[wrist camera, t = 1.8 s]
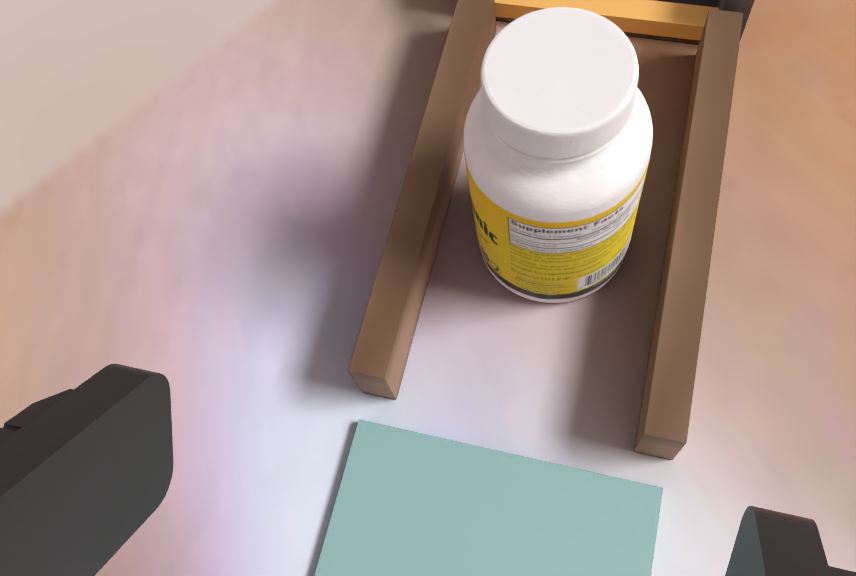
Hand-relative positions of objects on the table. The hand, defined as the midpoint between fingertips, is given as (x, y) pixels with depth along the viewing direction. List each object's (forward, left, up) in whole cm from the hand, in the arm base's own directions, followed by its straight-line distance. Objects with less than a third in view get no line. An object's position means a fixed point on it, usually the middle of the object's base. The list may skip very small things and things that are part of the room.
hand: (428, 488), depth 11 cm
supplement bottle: (0, +12, -16) cm, 20 cm away
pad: (0, 0, -15) cm, 15 cm away
